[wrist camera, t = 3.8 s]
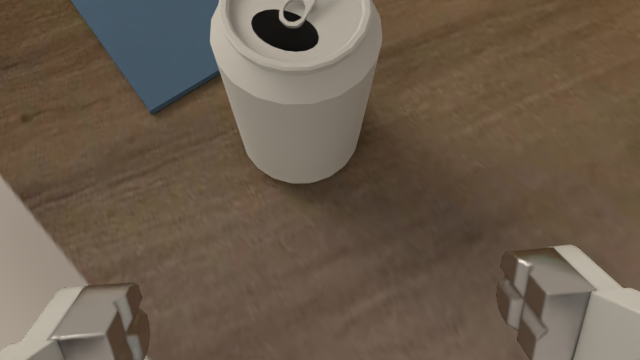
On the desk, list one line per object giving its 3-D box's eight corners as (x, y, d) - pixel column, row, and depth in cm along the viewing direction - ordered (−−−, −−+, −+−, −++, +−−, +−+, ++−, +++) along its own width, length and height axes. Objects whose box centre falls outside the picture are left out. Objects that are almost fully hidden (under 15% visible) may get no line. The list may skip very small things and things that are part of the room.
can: (222, 159, 28) (163, 36, 17) (275, 69, 30) (256, -92, 19) (328, 207, 27) (343, 111, 16) (375, 111, 29) (416, -33, 18)
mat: (152, 115, 29) (149, 111, 28) (69, -2, 32) (65, -7, 32) (320, 14, 32) (321, 9, 32) (230, -84, 35) (229, -89, 35)
